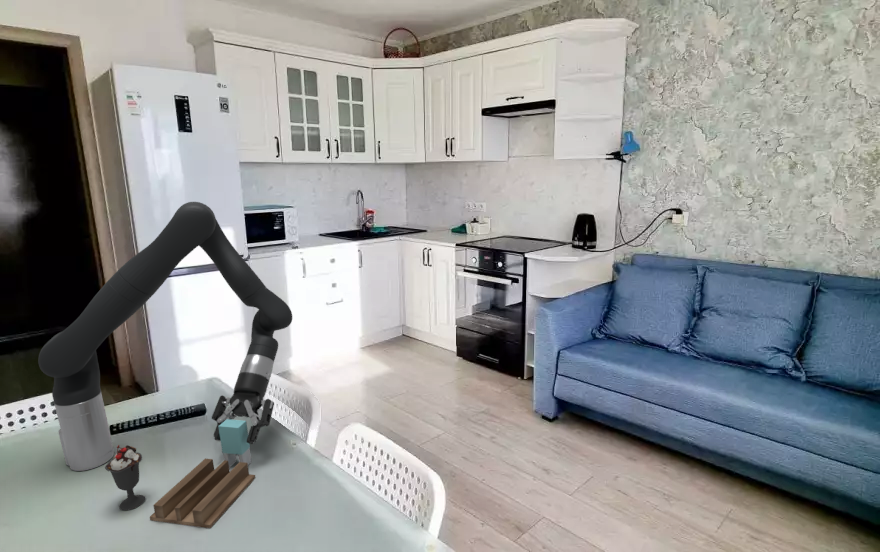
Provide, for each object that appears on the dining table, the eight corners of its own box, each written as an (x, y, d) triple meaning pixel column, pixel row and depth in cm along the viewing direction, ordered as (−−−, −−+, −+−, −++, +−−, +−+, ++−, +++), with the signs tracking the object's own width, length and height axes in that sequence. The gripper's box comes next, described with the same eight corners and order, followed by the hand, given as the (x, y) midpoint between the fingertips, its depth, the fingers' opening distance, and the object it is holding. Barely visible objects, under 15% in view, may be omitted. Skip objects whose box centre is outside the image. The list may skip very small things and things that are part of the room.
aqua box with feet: (224, 467, 117) (218, 426, 115) (232, 459, 120) (226, 419, 118) (244, 469, 116) (238, 428, 114) (252, 461, 119) (246, 420, 117)
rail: (150, 520, 101) (146, 504, 100) (201, 472, 116) (199, 457, 115) (210, 528, 98) (207, 512, 97) (255, 477, 113) (253, 463, 112)
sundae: (124, 517, 102) (110, 453, 98) (108, 506, 105) (94, 444, 102) (156, 498, 107) (144, 437, 104) (140, 489, 111) (127, 429, 107)
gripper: (221, 369, 123) (198, 435, 115) (273, 372, 120) (253, 440, 112) (237, 379, 129) (215, 443, 121) (286, 382, 126) (268, 447, 118)
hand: (233, 441), depth 116 cm, fingers open, 8 cm apart
